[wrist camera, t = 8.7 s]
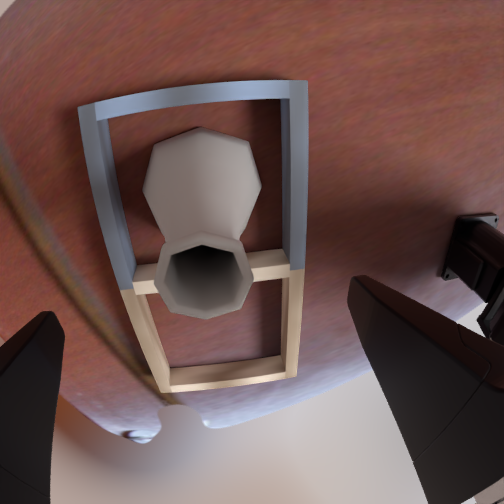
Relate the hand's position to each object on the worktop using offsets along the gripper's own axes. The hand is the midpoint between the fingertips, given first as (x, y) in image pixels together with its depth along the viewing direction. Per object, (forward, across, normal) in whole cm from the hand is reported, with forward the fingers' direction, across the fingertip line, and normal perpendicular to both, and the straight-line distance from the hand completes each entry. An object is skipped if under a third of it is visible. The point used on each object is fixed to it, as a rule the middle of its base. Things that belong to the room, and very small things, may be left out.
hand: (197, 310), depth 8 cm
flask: (+12, 0, 0) cm, 12 cm away
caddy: (+11, 0, +6) cm, 13 cm away
